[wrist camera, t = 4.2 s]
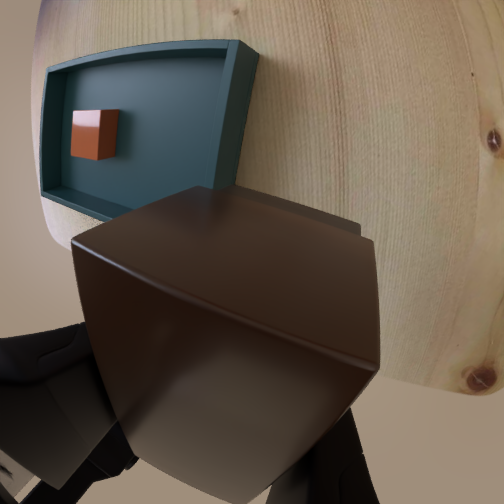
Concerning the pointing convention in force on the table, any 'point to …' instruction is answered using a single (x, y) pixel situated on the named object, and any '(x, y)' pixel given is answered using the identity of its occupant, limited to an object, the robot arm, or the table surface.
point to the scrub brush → (229, 331)
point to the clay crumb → (94, 133)
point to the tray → (147, 123)
